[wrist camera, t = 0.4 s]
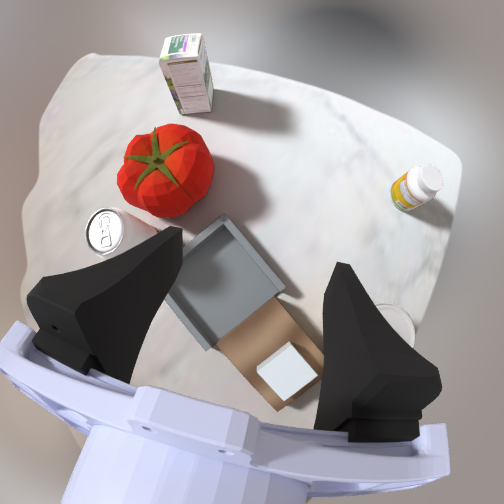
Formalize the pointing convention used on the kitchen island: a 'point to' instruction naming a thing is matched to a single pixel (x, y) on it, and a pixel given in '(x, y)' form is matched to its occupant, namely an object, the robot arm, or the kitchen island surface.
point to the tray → (220, 282)
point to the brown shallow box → (269, 347)
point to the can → (115, 232)
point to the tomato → (166, 171)
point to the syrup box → (187, 73)
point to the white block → (286, 371)
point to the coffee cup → (398, 320)
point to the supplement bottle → (416, 187)
